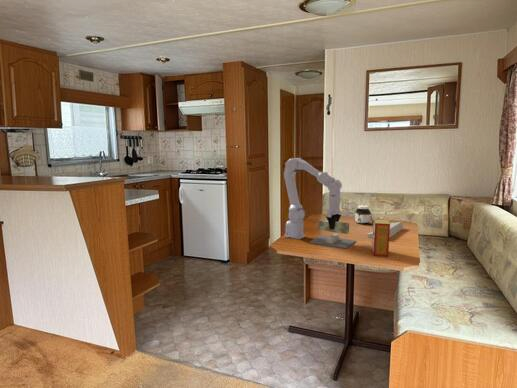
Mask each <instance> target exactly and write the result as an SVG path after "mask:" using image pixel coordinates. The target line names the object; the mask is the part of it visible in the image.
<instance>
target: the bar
mask: <svg viewBox="0 0 517 388" xmlns="http://www.w3.org/2000/svg"><path fill="white" fill-rule="evenodd" d="M317 231H325V232H332V233H336V234H345V235H347V234H349V233H350V223H349V222H343V221H339V222H335V228H334V230H333V229H330V227H329V222H328V220H327V219H318V220H317Z"/></svg>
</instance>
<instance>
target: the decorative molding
mask: <svg viewBox="0 0 517 388" xmlns="http://www.w3.org/2000/svg"><path fill="white" fill-rule="evenodd" d="M389 223H390V222H389ZM400 230H401V231H402V230H404V226H403V221H398V222H391V223H390V234H389V239H390V238H391V237H393V236H395V235H396V234H398V233H399V232H401V231H400ZM397 232H398V233H397ZM366 236H367V239H372V238H373V230H371V232H368V233H367V234H366Z"/></svg>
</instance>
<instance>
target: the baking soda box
mask: <svg viewBox="0 0 517 388" xmlns="http://www.w3.org/2000/svg"><path fill="white" fill-rule="evenodd" d="M372 231H373V238H371V239H372V240H371V241H372V242H371V243H372V244H371V252H372V255H373V257H389V251H390V250H389V247H390V245H389V244H390V238H389V234H390V221H389V220H388V219H378V218H377V219H376V218H375V219H374V220H373V223H372Z"/></svg>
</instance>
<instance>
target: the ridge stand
mask: <svg viewBox="0 0 517 388" xmlns="http://www.w3.org/2000/svg"><path fill="white" fill-rule="evenodd" d="M356 241H357V240H356V239H347V238H342V237H341V238H340V236H339V233H332V235H329V236H328V235H319V236H318V237H315V238H314V239H312V240H310V241H309V243H310V244H315V245H321V246H328V247H334V248H339V249H344V250H345V249H348V248H349V247H350V246H352V245H353V244H355V243H356Z"/></svg>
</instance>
